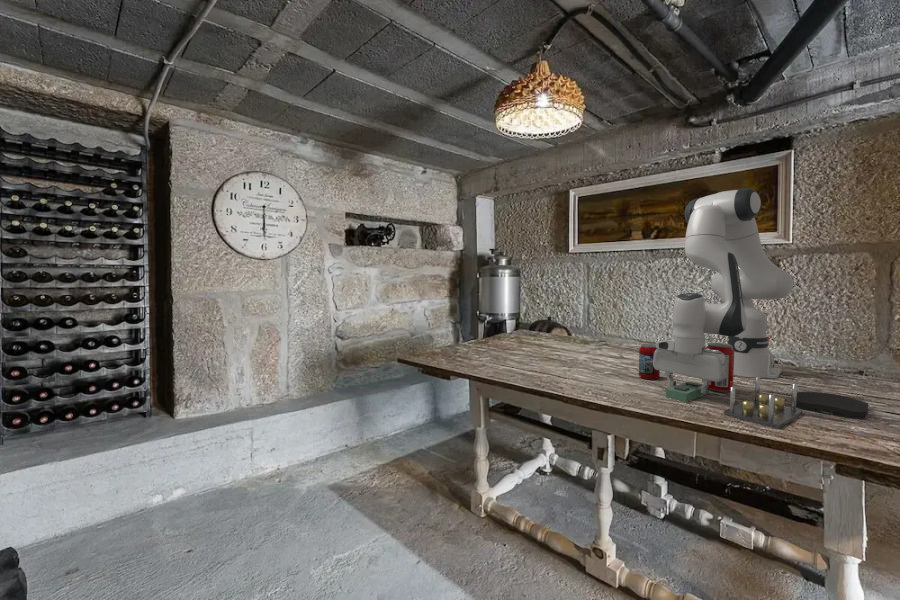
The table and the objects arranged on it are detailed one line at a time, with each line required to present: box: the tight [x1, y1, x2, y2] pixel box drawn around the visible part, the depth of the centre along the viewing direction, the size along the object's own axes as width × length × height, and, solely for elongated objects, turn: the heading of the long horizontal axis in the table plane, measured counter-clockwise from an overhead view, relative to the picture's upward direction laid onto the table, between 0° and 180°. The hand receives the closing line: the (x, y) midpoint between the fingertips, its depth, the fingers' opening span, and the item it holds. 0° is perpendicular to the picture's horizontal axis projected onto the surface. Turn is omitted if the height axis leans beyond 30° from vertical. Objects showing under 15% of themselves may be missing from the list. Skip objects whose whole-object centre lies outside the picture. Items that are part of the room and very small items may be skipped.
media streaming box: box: [796, 391, 869, 420], centre depth 112 cm, size 15×15×3 cm
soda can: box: [705, 342, 735, 393], centre depth 129 cm, size 8×8×15 cm
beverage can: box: [638, 343, 661, 381], centre depth 144 cm, size 7×7×12 cm
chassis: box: [723, 377, 803, 430], centre depth 107 cm, size 17×12×8 cm
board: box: [665, 381, 709, 403], centre depth 124 cm, size 14×6×4 cm, turn 124°
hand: (686, 389), depth 124 cm, fingers open, 7 cm apart
